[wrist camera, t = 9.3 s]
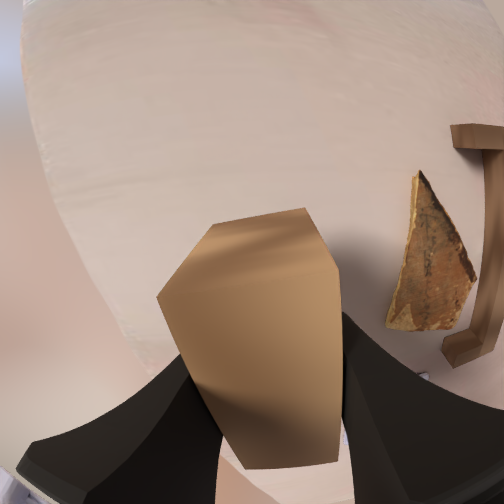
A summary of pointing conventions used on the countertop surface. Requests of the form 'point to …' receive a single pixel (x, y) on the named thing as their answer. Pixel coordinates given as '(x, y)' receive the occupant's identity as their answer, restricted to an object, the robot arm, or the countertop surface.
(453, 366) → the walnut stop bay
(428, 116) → the countertop surface
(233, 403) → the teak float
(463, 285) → the shard
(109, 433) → the robot arm
